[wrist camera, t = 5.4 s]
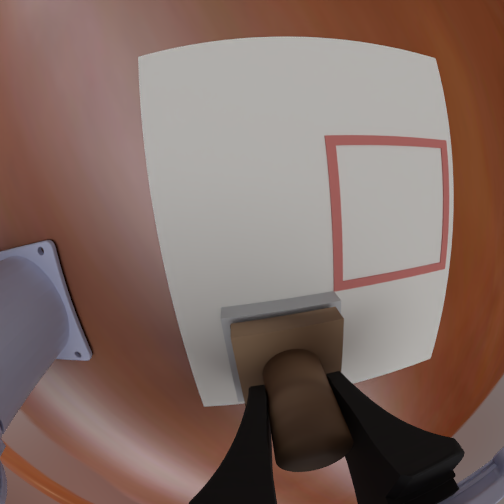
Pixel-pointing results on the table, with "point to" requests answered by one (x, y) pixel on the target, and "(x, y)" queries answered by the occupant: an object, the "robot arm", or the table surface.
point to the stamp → (296, 383)
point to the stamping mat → (300, 195)
